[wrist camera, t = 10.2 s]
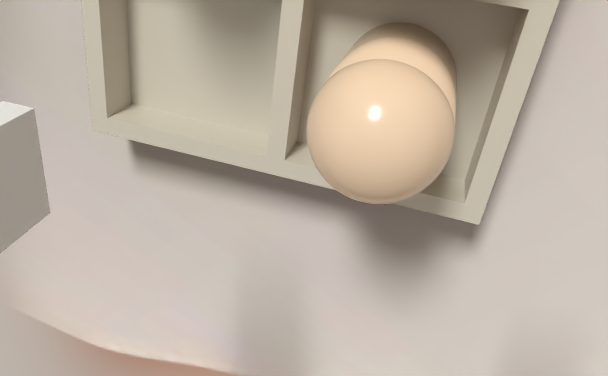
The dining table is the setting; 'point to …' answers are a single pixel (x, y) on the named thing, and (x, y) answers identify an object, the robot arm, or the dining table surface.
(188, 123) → the egg tray
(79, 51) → the dining table surface
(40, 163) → the robot arm
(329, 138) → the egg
